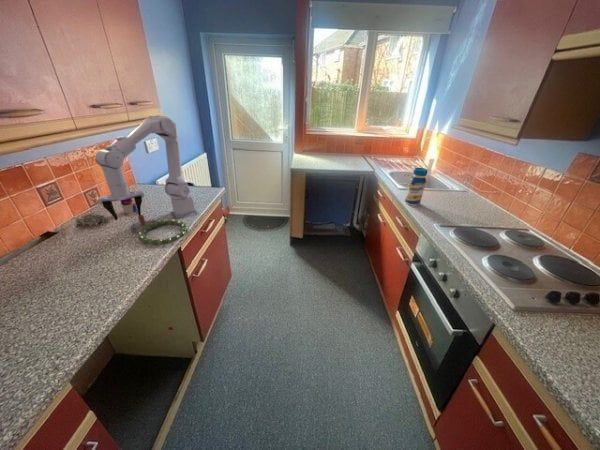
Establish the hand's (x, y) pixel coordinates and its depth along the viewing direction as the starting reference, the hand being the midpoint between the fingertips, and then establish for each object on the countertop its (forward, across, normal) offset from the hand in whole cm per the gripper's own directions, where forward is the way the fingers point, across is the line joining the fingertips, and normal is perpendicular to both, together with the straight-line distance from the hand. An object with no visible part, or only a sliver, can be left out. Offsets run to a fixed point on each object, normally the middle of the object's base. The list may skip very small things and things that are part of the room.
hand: (128, 216), depth 97 cm
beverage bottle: (+10, +136, -35) cm, 140 cm away
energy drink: (+10, 0, +26) cm, 28 cm away
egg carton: (+10, -15, +22) cm, 29 cm away
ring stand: (+9, +4, +8) cm, 13 cm away
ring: (+8, +10, -4) cm, 14 cm away
